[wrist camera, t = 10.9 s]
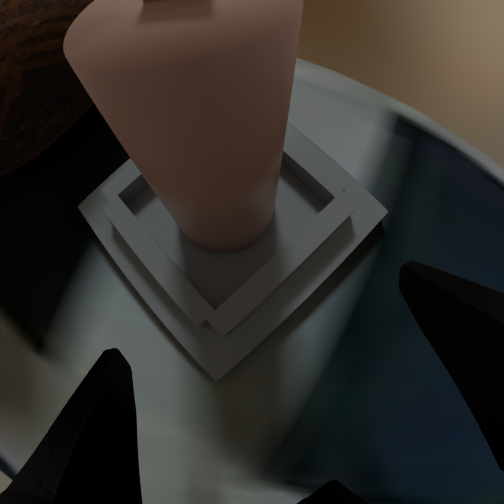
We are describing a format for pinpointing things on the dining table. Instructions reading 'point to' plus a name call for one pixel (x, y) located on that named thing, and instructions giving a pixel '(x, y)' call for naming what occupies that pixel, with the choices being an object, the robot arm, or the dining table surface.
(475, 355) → the robot arm
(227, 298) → the dish
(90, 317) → the dining table surface
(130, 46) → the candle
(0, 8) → the jug
